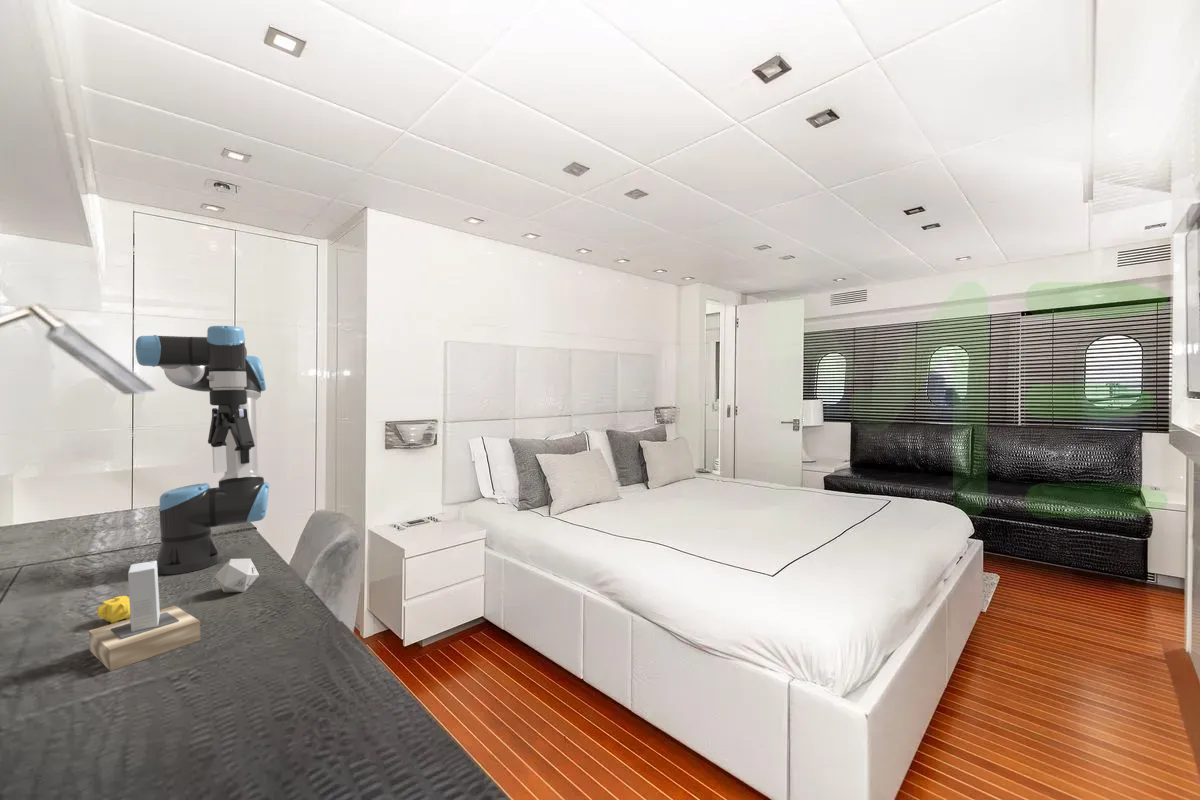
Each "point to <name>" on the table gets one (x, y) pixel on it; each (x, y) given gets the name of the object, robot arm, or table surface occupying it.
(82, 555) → the table surface
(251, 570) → the die
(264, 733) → the table surface
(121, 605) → the teapot
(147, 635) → the plinth
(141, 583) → the skincare box
